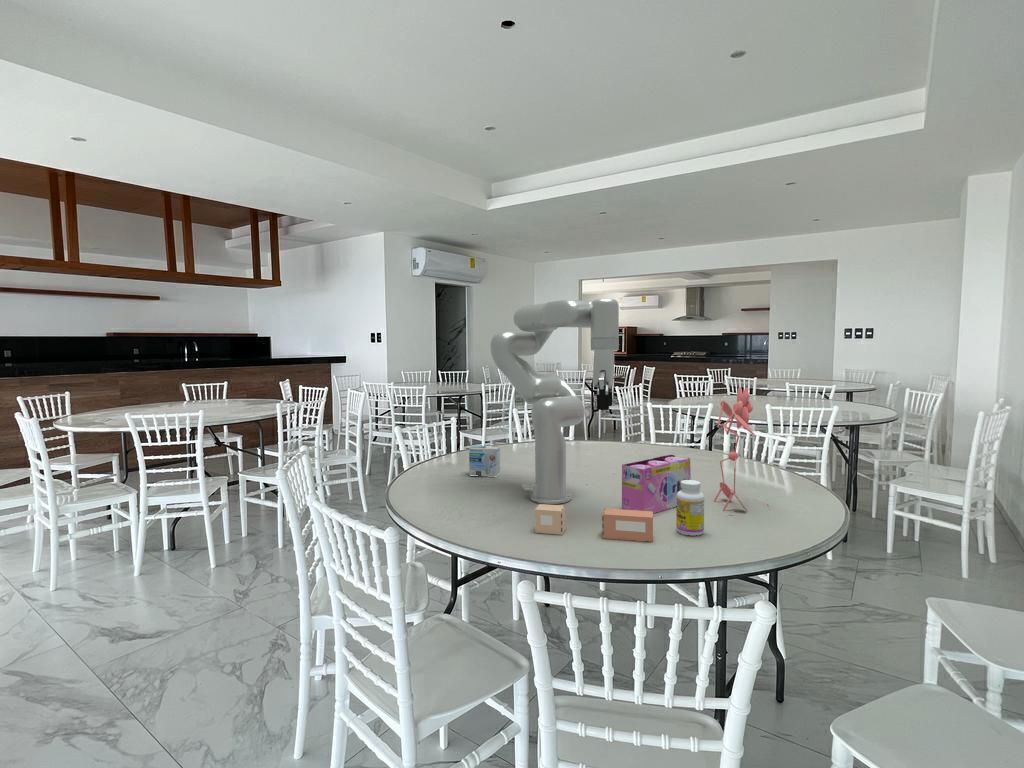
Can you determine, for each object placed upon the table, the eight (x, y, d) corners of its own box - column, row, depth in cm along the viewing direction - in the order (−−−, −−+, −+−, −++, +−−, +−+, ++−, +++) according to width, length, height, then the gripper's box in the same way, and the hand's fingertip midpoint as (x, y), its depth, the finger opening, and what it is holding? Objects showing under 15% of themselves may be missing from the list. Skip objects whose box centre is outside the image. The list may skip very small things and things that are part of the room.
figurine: (729, 519, 146) (734, 389, 143) (703, 494, 171) (707, 384, 169) (788, 521, 144) (794, 390, 142) (753, 495, 170) (758, 384, 168)
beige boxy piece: (535, 532, 137) (534, 509, 136) (539, 526, 142) (539, 503, 141) (562, 534, 135) (562, 511, 134) (565, 528, 140) (565, 505, 139)
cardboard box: (602, 538, 132) (602, 513, 132) (604, 531, 137) (604, 507, 137) (652, 542, 129) (652, 517, 129) (652, 535, 134) (653, 511, 134)
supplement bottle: (672, 528, 139) (672, 479, 138) (697, 527, 140) (697, 478, 139) (682, 537, 132) (682, 485, 132) (708, 536, 133) (709, 484, 132)
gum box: (672, 496, 169) (672, 453, 168) (694, 502, 163) (694, 457, 162) (620, 511, 155) (620, 464, 154) (642, 517, 148) (642, 468, 148)
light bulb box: (468, 477, 198) (468, 448, 198) (473, 473, 205) (472, 444, 204) (497, 478, 196) (497, 448, 196) (500, 473, 203) (500, 445, 202)
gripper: (594, 345, 156) (594, 404, 157) (586, 345, 139) (586, 411, 140) (620, 345, 154) (620, 404, 155) (616, 344, 137) (616, 411, 138)
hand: (604, 407), depth 148 cm, fingers open, 9 cm apart
